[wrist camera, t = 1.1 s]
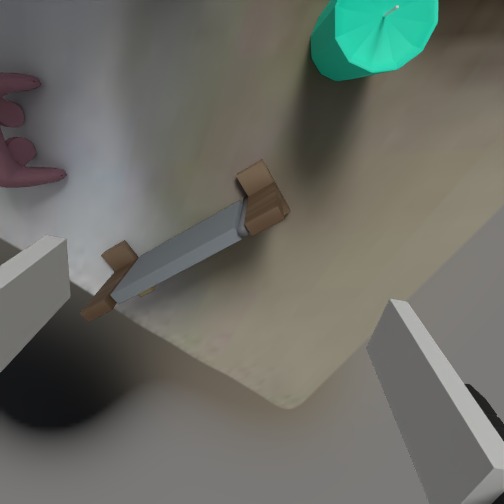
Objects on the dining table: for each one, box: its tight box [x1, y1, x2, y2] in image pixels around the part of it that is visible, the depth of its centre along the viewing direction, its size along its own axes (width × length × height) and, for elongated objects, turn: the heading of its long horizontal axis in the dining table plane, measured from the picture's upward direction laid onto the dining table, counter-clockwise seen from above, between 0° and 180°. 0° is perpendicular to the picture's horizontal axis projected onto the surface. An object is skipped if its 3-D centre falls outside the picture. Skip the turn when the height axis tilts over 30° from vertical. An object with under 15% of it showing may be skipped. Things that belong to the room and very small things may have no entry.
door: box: [111, 198, 249, 304], centre depth 32 cm, size 2×14×8 cm, turn 120°
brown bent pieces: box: [80, 159, 290, 322], centre depth 32 cm, size 6×21×9 cm, turn 120°
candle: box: [311, 0, 438, 81], centre depth 22 cm, size 6×6×12 cm
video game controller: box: [0, 73, 67, 187], centre depth 29 cm, size 10×5×7 cm, turn 2°
